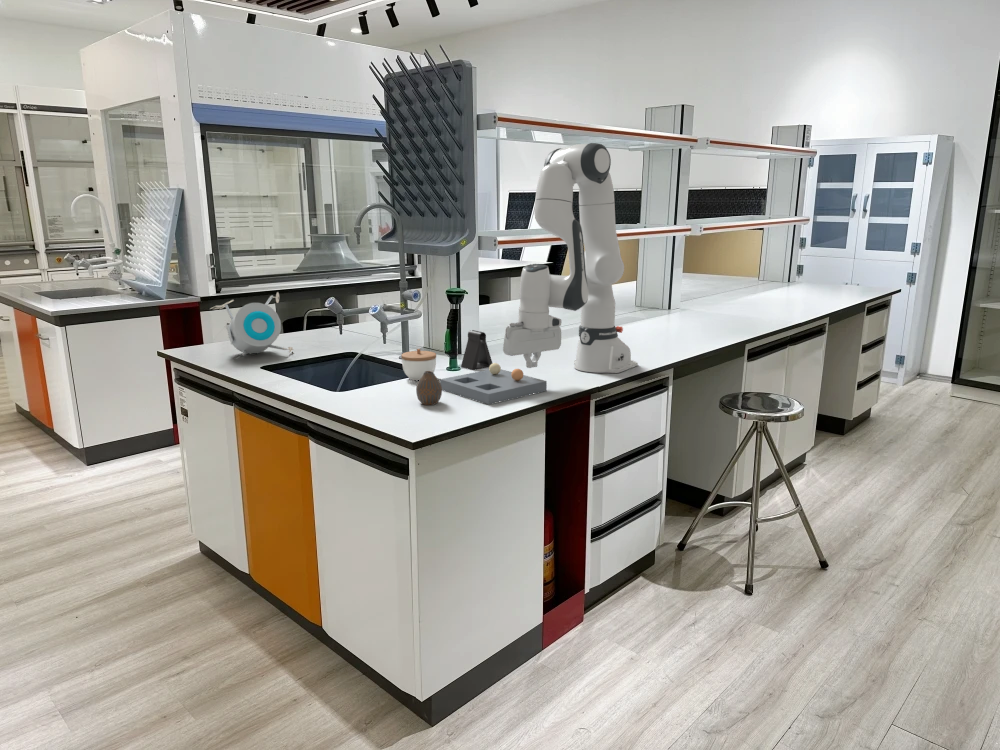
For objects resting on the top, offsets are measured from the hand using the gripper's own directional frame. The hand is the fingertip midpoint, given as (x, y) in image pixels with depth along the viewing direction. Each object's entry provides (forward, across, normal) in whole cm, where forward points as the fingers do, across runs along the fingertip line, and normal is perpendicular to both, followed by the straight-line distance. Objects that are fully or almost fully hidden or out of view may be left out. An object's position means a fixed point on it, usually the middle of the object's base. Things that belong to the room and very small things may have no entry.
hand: (531, 367), depth 205 cm
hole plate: (+6, -11, +4) cm, 13 cm away
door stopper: (+6, +4, +31) cm, 32 cm away
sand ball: (+2, -6, +9) cm, 11 cm away
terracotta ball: (+1, -6, -1) cm, 6 cm away
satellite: (+9, -46, +97) cm, 108 cm away
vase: (+7, -33, +4) cm, 34 cm away
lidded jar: (+7, -20, +30) cm, 37 cm away
